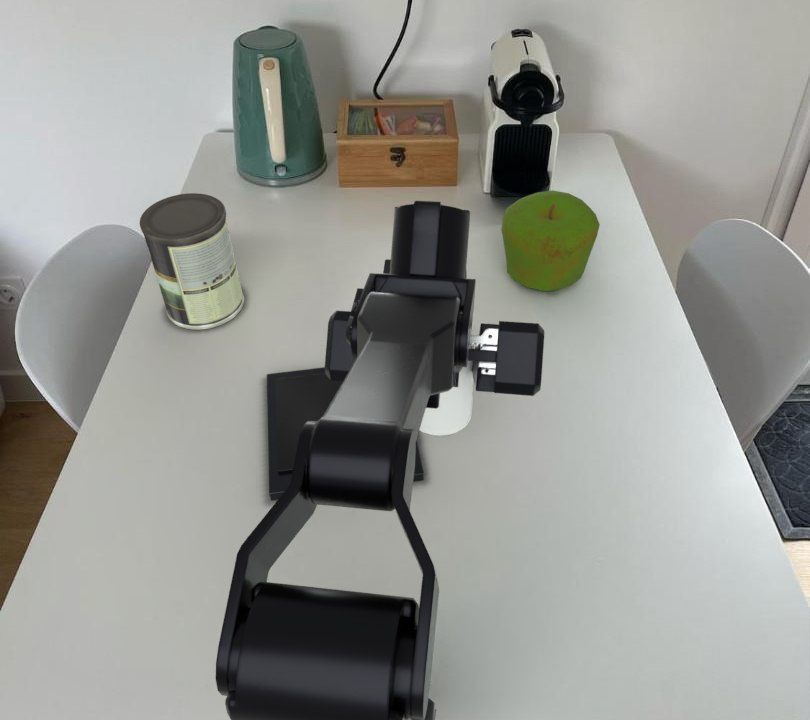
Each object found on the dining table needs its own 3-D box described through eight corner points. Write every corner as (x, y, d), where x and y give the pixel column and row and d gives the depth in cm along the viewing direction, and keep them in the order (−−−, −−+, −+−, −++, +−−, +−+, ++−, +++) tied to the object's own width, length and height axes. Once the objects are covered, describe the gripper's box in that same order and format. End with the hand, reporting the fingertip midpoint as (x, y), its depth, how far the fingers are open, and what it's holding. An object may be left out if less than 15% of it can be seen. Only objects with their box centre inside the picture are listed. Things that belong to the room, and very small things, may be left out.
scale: (424, 480, 85) (423, 471, 84) (270, 501, 84) (268, 491, 82) (400, 365, 98) (400, 355, 97) (268, 381, 97) (266, 371, 96)
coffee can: (153, 326, 105) (124, 234, 95) (185, 278, 112) (161, 189, 103) (228, 334, 103) (206, 242, 94) (255, 286, 111) (237, 196, 101)
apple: (513, 242, 116) (518, 172, 108) (599, 258, 112) (610, 187, 105) (487, 293, 108) (491, 221, 100) (579, 312, 104) (589, 239, 96)
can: (405, 395, 85) (401, 305, 77) (466, 390, 85) (469, 299, 77) (411, 441, 80) (407, 350, 72) (476, 435, 80) (480, 343, 72)
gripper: (553, 251, 63) (543, 281, 78) (318, 239, 65) (353, 271, 80) (543, 395, 62) (535, 397, 78) (306, 377, 65) (344, 382, 80)
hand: (441, 358), depth 79 cm, fingers closed on can, 6 cm apart
